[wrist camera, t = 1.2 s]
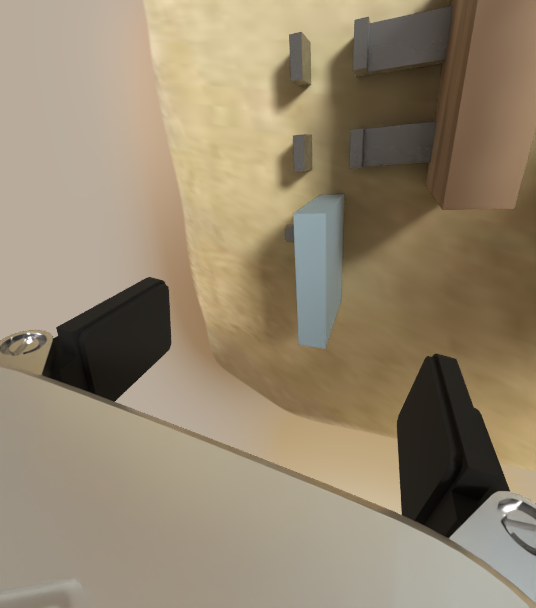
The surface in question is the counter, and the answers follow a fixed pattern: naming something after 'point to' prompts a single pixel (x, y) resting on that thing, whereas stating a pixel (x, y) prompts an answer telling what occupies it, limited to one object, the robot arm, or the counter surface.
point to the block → (318, 266)
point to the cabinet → (485, 105)
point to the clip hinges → (373, 60)
